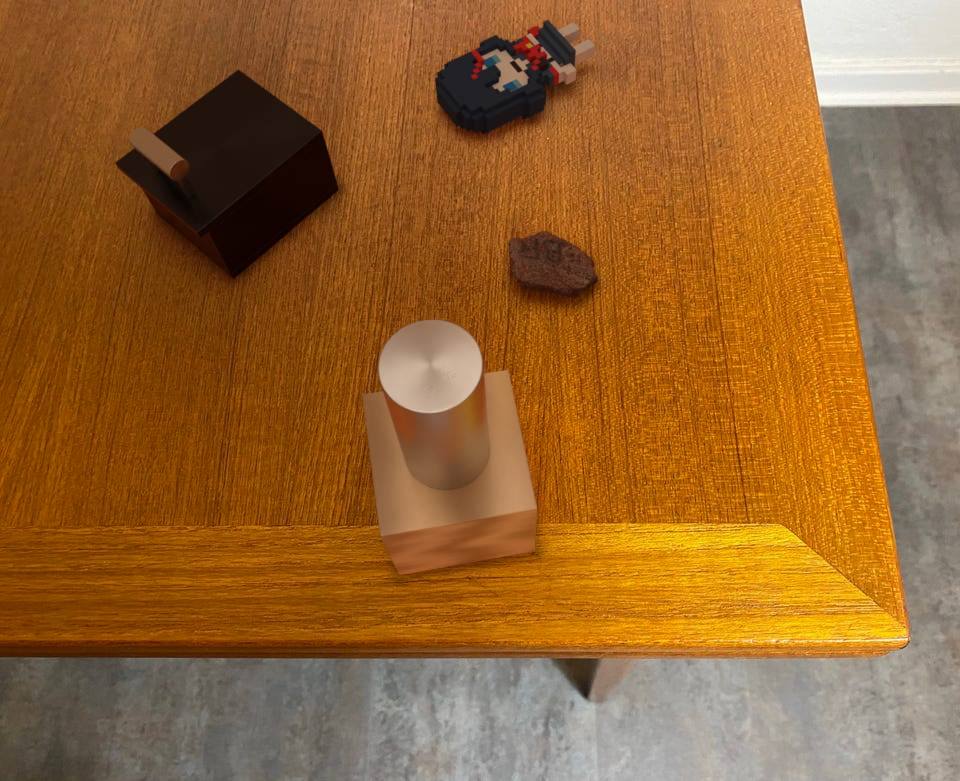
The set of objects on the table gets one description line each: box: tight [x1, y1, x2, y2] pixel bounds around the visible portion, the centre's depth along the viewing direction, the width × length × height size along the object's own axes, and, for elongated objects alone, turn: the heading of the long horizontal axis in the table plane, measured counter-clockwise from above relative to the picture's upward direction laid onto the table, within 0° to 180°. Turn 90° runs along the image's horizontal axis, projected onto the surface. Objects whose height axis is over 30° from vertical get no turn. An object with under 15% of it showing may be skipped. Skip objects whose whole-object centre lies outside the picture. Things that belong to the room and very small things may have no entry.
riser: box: [362, 369, 538, 576], centre depth 62 cm, size 10×10×10 cm
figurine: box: [434, 19, 596, 135], centre depth 82 cm, size 9×4×15 cm
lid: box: [114, 69, 325, 238], centre depth 70 cm, size 13×11×5 cm
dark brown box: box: [141, 137, 340, 280], centre depth 76 cm, size 13×11×7 cm
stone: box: [507, 230, 599, 299], centre depth 73 cm, size 7×7×3 cm
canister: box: [377, 318, 490, 490], centre depth 52 cm, size 6×6×12 cm
